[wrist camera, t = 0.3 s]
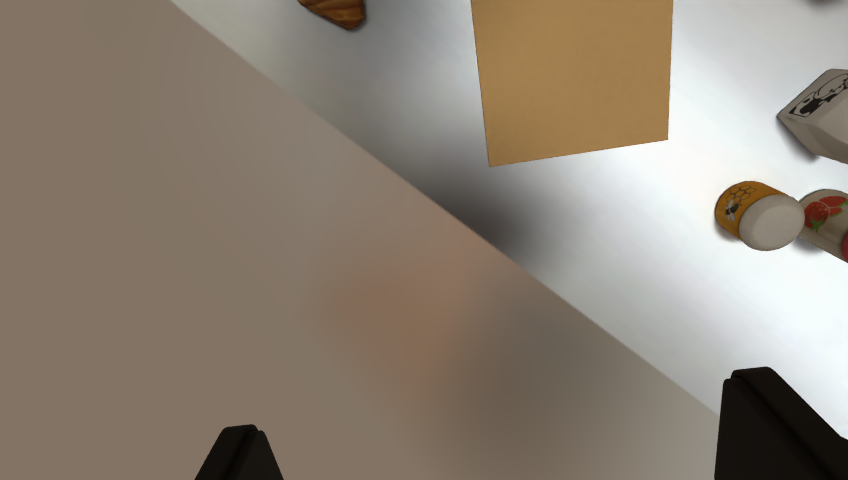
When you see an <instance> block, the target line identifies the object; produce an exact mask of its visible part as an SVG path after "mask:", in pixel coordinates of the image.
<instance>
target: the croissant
mask: <svg viewBox="0 0 848 480" xmlns="http://www.w3.org/2000/svg"><path fill="white" fill-rule="evenodd" d="M298 2H299V3H300V4H301V5H302V6H304V7H306V8H308V9H309V10H311V11H313V12H315V13H317V14H319V15H320V16H322V17H324V18H326V19H328V20H330V21H332V22H333V23H335V24H337V25H339V26H341V27H343V28H345V29H347V30H350V29H353V28H355V27H358V26H359V25H360V23H361V22H362V21H363V20H364V18H365V14H364V4H363V0H298Z"/></svg>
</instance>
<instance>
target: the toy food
mask: <svg viewBox="0 0 848 480" xmlns="http://www.w3.org/2000/svg"><path fill="white" fill-rule="evenodd" d="M778 117H779V119H780V120H781V121H782V122H783V123H784V124H785V126H786V127H787V128H788V129H789V130H790V131H791V132H792V133H793V134H794V135H795V136H796V137H797V139H798V140H799V141H800V142H801V143H802V144H803V145H804V146H805V147H806V148H807V149H808V150H809V151H810V152H812V153H814V154H817V155H820V156H823V157H827V158H829V159H832V160H836V161H839V162H841V163H846V164H848V70H843V69H830V70H828V71H826V72H825V73H824V74H823V75H822V76H820V77H819V78H818V79H817V80H816V81H815V82H814V83H812V84H811V85H810V86H809V87H808V88H807V89H806V90H805V91H804V92H803V93H801V94H800V95H799V96H798V97H797V98H796V99H794V100H793V101H792V102H791V103H790V104H789V105H788V106H786V107H785V108H784V109H783V110H782V111H781V112H780V113H779V114H778ZM716 216H717V220H718V222H719V224H720V225H721V226H722V227H723V228H724V229H725V230H727V231H728V232H730V233H731V234H733V235H734V236H736V237H737V238H739V239H740V240H742V241H743V242H744V243H745V244H746V245H747V246H749V247H750V248H752V249H756V250H760V251H771V250H776V249H779V248H782V247H784V246H786V245H788V244H789V243H791V242H792V241H793V240H794V239H795V238H796V237H797V236H799V237H800V238H802V239H804V240H805V241H807V242H809V243H811V244H813V245H815V246H817V247H819V248H820V249H822V250H824V251H826V252H828V253H830V254H832V255H834V256H835V257H837V258H839V259H841V260H843V261H845V262H847V263H848V194H847V193H844V192H842V191H838V190H831V189H827V190H821V191H817V192H815V193H813V194H811V195H809V196H807V197H806V198H804V199H803V200H802V201H801V202H800V203H799V202H798V201H797V200H796V199H794V198H793V197H790V196H788V195H787V194H785V193H783V192H781V191H778V190H776V189H774V188H772V187H770V186H768V185H765V184H763V183H760V182H755V181H750V182H744V183H740V184H738V185H735V186H734V187H732V188H730V189H729V190H728V191H726V192H725V193H724V194H723V196H722V197H721V198H720V200H719V202H718V205H717V209H716Z"/></svg>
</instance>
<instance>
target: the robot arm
mask: <svg viewBox="0 0 848 480" xmlns="http://www.w3.org/2000/svg"><path fill="white" fill-rule="evenodd" d="M714 479H715V480H848V440H847V439H845V438H843V437H841V436H840V435H839V434H838V433H837V432H836V431H835V430H834V429H833V428H832V427H831V426H830V425H829V424H828V423H826V422H825V421H824V420H823V419H822V418H821V417H820V416H819V415H818V414H817V413H816V412H815V411H814V410H813V409H812V408H811V407H810V406H809V405H808V404H807V403H806V402H805V401H804V400H803V399H802V398H801V397H800V396H799V395H798V394H797V393H796V392H795V391H794V390H793V389H792V388H791V387H790V386H789V385H788V384H787V383H786V382H785V381H784V380H783V379H782V378H781V377H780V376H779V375H778V374H777V373H776V372H775V371H774V370H773V369H771V368H769V367H758V368H749V369H740V370H734V371H733V372H732V375H731V378H730V379H725V381H724V383H723V391H722V401H721V412H720V422H719V432H718V443H717V453H716V464H715V474H714ZM195 480H284V479H283V477H282V475H281V472H280V469H279V467H278V465H277V462H276V460H275V457H274V455H273V452H272V450H271V447H270V445H269V442H268V440H267V437H266V435H265V433H264V432H263V431H258V429H257V428H256V426H255V425H252V424H251V425H241V426H232V427H226V428H224V429H223V430H222V432H221V433H220V435H219V437H218V438H217V440H216V442H215V444H214V445H213V447H212V449H211V451H210V453H209V455H208V456H207V458H206V460H205V462H204V464H203V465H202V467H201V469H200V471H199V473H198V474H197V476H196V478H195Z"/></svg>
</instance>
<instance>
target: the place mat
mask: <svg viewBox="0 0 848 480" xmlns="http://www.w3.org/2000/svg"><path fill="white" fill-rule="evenodd" d="M471 7H472V16H473V25H474V34H475V43H476V52H477V61H478V69H479V78H480V87H481V96H482V105H483V114H484V123H485V132H486V140H487V149H488V158H489V166H490V167H492V166H499V165H505V164H512V163H519V162H525V161H532V160H538V159H545V158H552V157H558V156H565V155H571V154H578V153H584V152H591V151H598V150H604V149H611V148H617V147H624V146H631V145H637V144H644V143H650V142H657V141H663V140H668V120H669V94H670V67H671V40H672V14H673V0H471Z"/></svg>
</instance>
